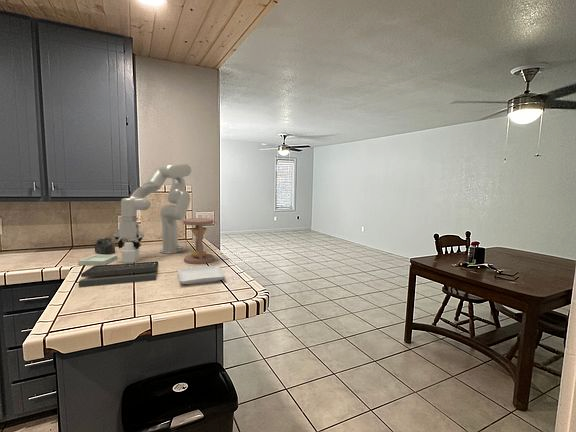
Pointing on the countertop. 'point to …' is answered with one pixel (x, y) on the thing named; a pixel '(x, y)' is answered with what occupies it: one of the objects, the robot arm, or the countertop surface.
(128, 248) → the medicine bottle
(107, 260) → the pale green square tray
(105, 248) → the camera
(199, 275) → the grey flat square slab
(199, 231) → the hourglass
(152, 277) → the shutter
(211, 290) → the countertop surface
